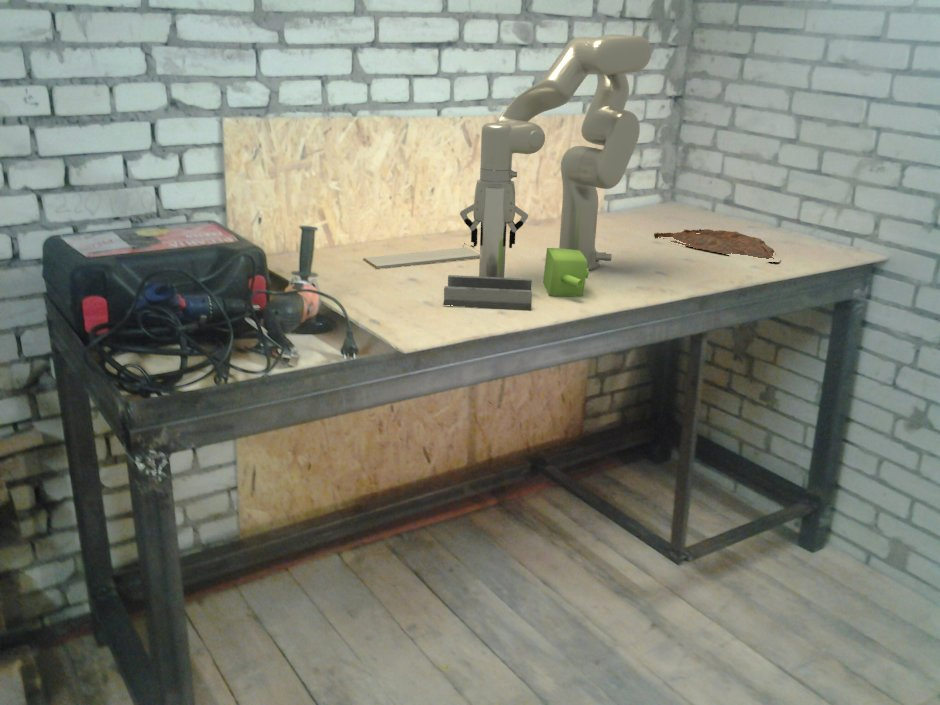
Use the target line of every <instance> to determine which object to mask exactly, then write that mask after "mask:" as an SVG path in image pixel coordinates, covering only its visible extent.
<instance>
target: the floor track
mask: <svg viewBox="0 0 940 705" xmlns="http://www.w3.org/2000/svg"><path fill="white" fill-rule="evenodd" d="M532 282H533V279H532V278H519V277H504V278H502V277H481V276H479V275H460V274H459V275H458V274H457V275H456V274H455V275H454V274H453V275H452V274H449V275H447V285H445V286H443V305H450V306H449V307H453V306H465V307H464V308H473V307H477V308H478V309H494V310H495V309H498V310H517V311H531V309H532V292H533V291H532V287H533V286H532V285H533V284H532ZM443 305H442V306H443ZM451 305H453V306H451ZM477 308H476V309H477Z"/></svg>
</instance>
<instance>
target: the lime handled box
mask: <svg viewBox="0 0 940 705" xmlns="http://www.w3.org/2000/svg"><path fill="white" fill-rule="evenodd" d="M587 263H588V262H587V260H586V258H585V257H584V255H583V254H582V252H581V251H580V250H572V249H561V248H559V247H547V248H546V254H545V263H544V272H543V282H542V283H543V285H544V288H545V290H546V292H547V293H548V295H549V296H555V297H584V291H585V286H586V285H585V284H586V279H588V278H589V274H590V270H588V268H587Z"/></svg>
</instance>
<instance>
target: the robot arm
mask: <svg viewBox="0 0 940 705" xmlns="http://www.w3.org/2000/svg"><path fill="white" fill-rule="evenodd" d="M651 58H652V46H651V44H650V42H649V41H648V40H647V38H645V37H643V36H642V35H635V34H633V35H630V34H613V33H611V34H610V33H609V34H602V35H600V36H599V35H598V37H591V36H579V37H578V36H577V37H574V38H573V39H571V40H569V42H568V43H567V44H566V46H565V47H564V48H563V49H562V51H561V52H560V54H558V56H557V57H556V59H555V60H554V62H553V63H552V64H551V66H550V67H549V68H548V70H547V71H546V73H545V74H544V76H543V77H542V78H541V80H539V81H538V82H537V83H535V84H534V85H532V86H530V87H528V89H526V90H524V91H523V92H521V94H518V96H516V97H515V98H514V99H512V101H510V103H508V105H507V106H506V107H505V109H504V110H503V111H502V113H501V114H500V116H499V117H498V118H497V120H496V122H488V123H485V124H483V125H482V128H481V136H480V137H481V138H480V140H481V142H480V143H481V144H480V169H479V171H480V172H479V173H480V175H479V179H477V180H476V184H475V191H474V198H473V204H470V205H469V206H467V207H465V208H464V209H462V210H461V211H460V212H459V215H460V218H462V221H464V224H465V225H466V226H467V227H468V228H469V230H471V232H470V235H471V236H470V242H471V243H473V246H474V248H475V247H477V245H478V230H479V229H478V226H479V225H480V224H481V222H483V220H484V211H485V198H486V187H489V188H491V184H501V188H504V196H503V217H504V223H507V226H508V227H509V229H510V230H509V236H508V237H509V238H508V240H509V241H508V248H510V249H512V248H513V245H516V232H517V231H518V230H519V229H520V228H522V227H523V225H524V223H526V221H527V220H528V218H529V214H528V213H527V212H526V211H524V210H523V209H521V208H519V207H518V206H517V205H516V186H515V182H514V180H513V179H514V178H518V171H514V170H513V169H512V165H513V154H524V155H532V154H535V153H538V152H539V151H540V150H541V149H542V148H543V146H544V144H545V142H546V141H545V140H546V135H545V131H544V129H543V128H542V127H541V126H540V125H539V124H537V123H535V122H530V120H532V119H533V118H535V117H536V116H538V115H539V114H542V113H544V112H547V111H551V110H554V109H557V108H560V107H562V106H564V105H565V104H567V103H568V102H569V101H570V100H571V99H572V97H573V96H574V94H575V93H576V91H577V90H578V89H579V87H580V86H581V85H582V83H583V82H584V81H585V79H586V77H588V75H596V77H597V85H596V89H595V92H594V95H593V97H592V100H591V102H590V105H589V107H588V109H587V112H586V113H585V117H584V120H583V121H582V125H581V129H580V130H581V136H582V138H583V139H584V140H585V141H586V142H588V143H591V144H594V145H596V146H597V145H598V146H603V147H602V149H601V148H597V147H591V146H585V145H577V146H572V147H570V148H568V149H567V150H566V151H565V153H564V154H563V156H562V157H561V161H560V174H561V180H562V181H561V182H562V200H561V201H562V202H561V203H562V204H561V215H560V217H561V218H560V229H559V230H560V233H559V245H558V246H559V247H558V248H561V249H572V250H580V251H581V252H582V254H583V255H584V257H585V258H586V260H587V262H588V263H587V268H588V270H589V271H593V270H596V269H598V268H599V267H600V261H605V262H611V261H612V253H607V252H599V251H597V250H596V247H595V246H596V237H597V223H598V222H597V221H598V212H599V211H598V210H599V195H598V191H597V189H603V190H610V189H613V188H615V187H616V186H617V185H618V184H619V183H620V182H621V180H622V179H623V176H624V174H625V172H626V169H627V168H628V165H629V163H630V160H631V159H632V157H633V153H634V151H635V149H636V146H637V145H638V141H639V137H640V132H641V126H640V121H639V119H638V117H637V115H636V114H635V113H633V112H632V111H630V110H626V109H625V108H626V107H625V106H626V104H627V102H628V99H629V94H630V85H629V81H628V77H627V75H626V74H629V73H631V74H632V73H636V72H638V73H639V72H640V71H642V70H644V69H645V68H646V67H647V66H648V64H649V62H650V61H651ZM471 212H473V221H472V220H471V219H470V218H469V217H468V214H470V213H471ZM515 215H518V216H520V217H521V218H519V220H518V221H517V222H515V221H514V220H515Z"/></svg>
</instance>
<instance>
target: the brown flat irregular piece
mask: <svg viewBox="0 0 940 705" xmlns="http://www.w3.org/2000/svg"><path fill="white" fill-rule="evenodd" d="M713 230H714V229H701V228H699V229H691V230H690V229H684V230H683V231H681V232H680V231H678V232H674V233H673V232H664V233H663V232H661V233H660V232H654V233H653V237H655V238H654V239H658V237H659V238H661V237H673V238H674V239H676V240H679V241H681V242H683V243H686V244H683V243H680V242H677V241H674V240H670V241H671V242H674V243H678V244H682V245H685V246H689V247H693V248H692V249H695V248H696V249H700V250H703V251H708V252H714V253H717V254H718V253H722V254H721V255H724V254H731V253H732V254H740V255H748V256H753V257H758V258H766V259H769V258H773V257H772V256H773V253H774V252H775V251H774V248H772V247H770V246H768V244H766V242H765V240H762V239H761V238H760V237H759V238H758V237H754V236H751V235H750V236H749V235H746V234H743V233H740V232H738V231H727V230H720V229H719V230H714V231H713ZM696 233H700V234H696ZM689 244H690V245H689ZM696 249H695V250H696ZM773 259H774V258H773ZM774 264H780V263H779V262H775V263H774Z"/></svg>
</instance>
